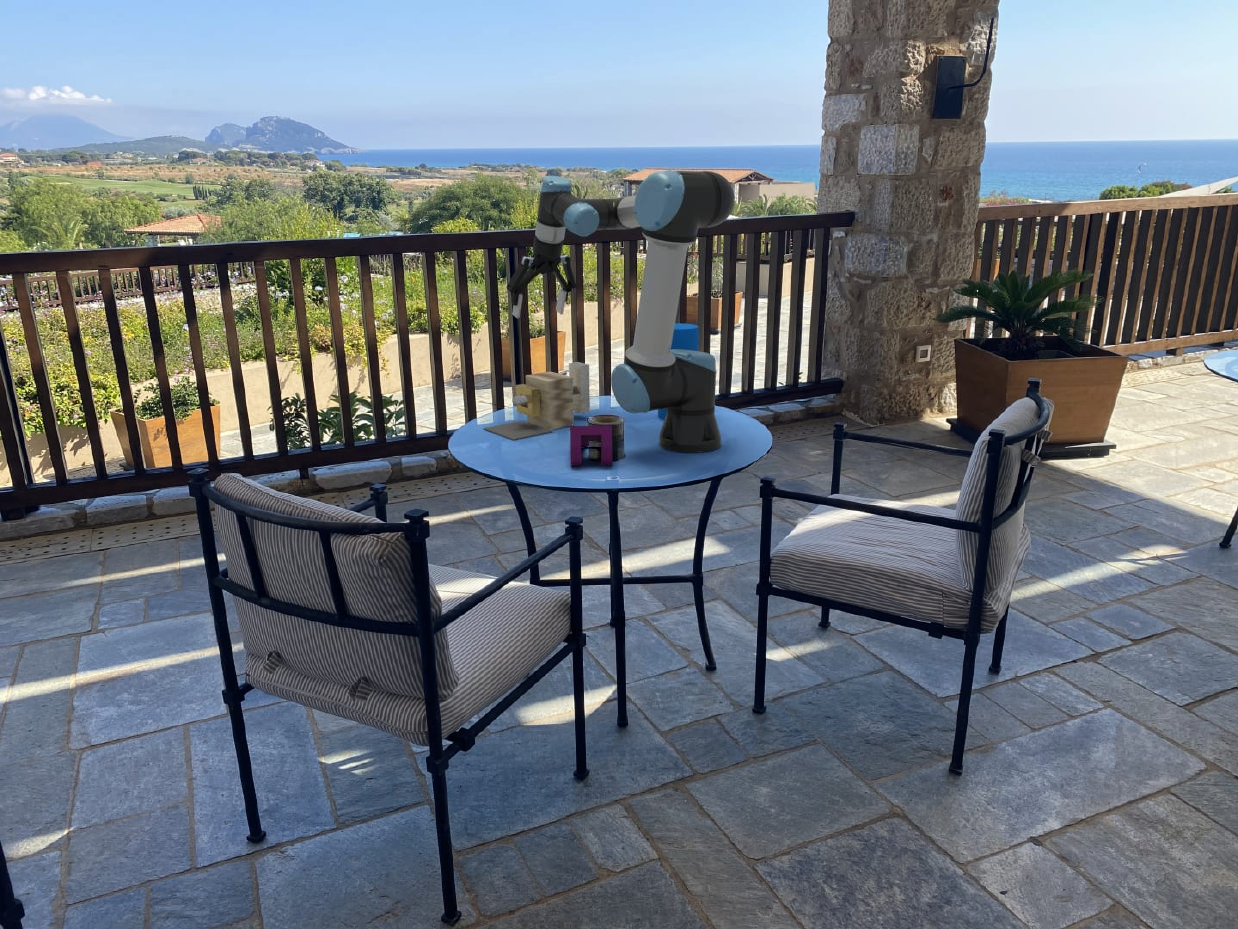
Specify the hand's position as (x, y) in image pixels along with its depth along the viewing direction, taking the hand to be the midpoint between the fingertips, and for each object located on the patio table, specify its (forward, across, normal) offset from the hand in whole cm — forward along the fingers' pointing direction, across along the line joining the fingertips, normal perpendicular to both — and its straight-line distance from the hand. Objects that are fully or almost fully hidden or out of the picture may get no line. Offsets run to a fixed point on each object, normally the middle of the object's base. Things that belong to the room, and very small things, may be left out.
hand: (537, 314), depth 238 cm
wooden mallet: (+21, +3, +19) cm, 28 cm away
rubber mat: (+22, +14, +20) cm, 33 cm away
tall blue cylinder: (+18, -28, +33) cm, 47 cm away
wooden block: (+23, +4, +20) cm, 30 cm away
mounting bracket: (+14, +12, +49) cm, 52 cm away
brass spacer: (+19, +11, +19) cm, 29 cm away
